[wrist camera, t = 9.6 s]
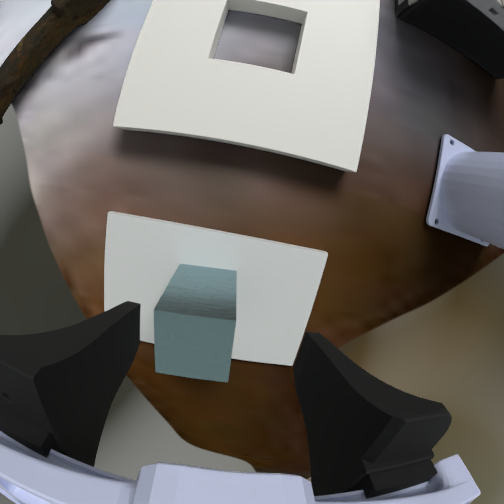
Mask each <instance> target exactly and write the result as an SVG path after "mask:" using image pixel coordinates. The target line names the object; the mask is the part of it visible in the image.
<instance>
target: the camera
mask: <svg viewBox="0 0 504 504" xmlns="http://www.w3.org/2000/svg"><path fill="white" fill-rule="evenodd" d="M395 3H396V15H397V16H398V17H400V18H402V19H404V20H406V21H408V22H410V23H412V24H414V25H416V26H418V27H419V28H421V29H423V30H425V31H427V32H429V33H430V34H432V35H434V36H436V37H437V38H439V39H441V40H442V41H444V42H446V43H447V44H449V45H451V46H452V47H454V48H455V49H457V50H458V51H460V52H461V53H463V54H464V55H466V56H467V57H468V58H470V59H471V60H473V61H474V62H475V63H477V64H478V65H479V66H481V67H482V68H483V69H485V70H486V71H487V72H488V73H490V74H491V75H492V76H493V77H495V78H496V79H501V78H504V0H395Z"/></svg>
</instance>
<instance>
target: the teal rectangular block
mask: <svg viewBox="0 0 504 504" xmlns="http://www.w3.org/2000/svg"><path fill="white" fill-rule="evenodd" d="M236 292H237V271H235V270H227V269H219V268H211V267H203V266H195V265H188V264H180V265H179V266H178V268H177V270H176V271H175V273H174V275H173V277H172V278H171V280H170V282H169V283H168V285H167V287H166V289H165V290H164V292H163V294H162V296H161V297H160V299H159V301H158V303H157V305H156V306H155V308H154V347H155V368H156V372H158V373H164V374H169V375H176V376H182V377H189V378H196V379H204V380H212V381H221V382H228V378H229V371H230V363H231V356H232V349H233V342H234V334H235V327H236Z"/></svg>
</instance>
